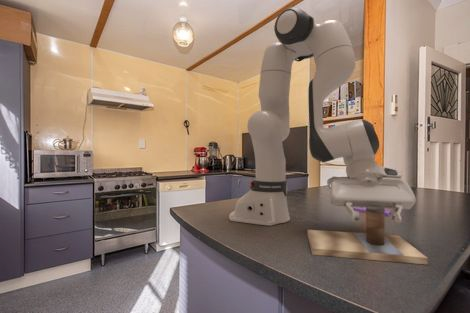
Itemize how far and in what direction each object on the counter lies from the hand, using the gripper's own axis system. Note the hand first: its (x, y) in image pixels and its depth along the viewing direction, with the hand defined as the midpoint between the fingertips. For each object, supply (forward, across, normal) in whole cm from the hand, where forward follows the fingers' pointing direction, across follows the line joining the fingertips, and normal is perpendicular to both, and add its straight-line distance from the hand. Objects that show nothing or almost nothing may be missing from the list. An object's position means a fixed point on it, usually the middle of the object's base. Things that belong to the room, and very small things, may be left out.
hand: (376, 220), depth 59 cm
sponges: (-23, +12, +34) cm, 43 cm away
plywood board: (+5, -4, +6) cm, 8 cm away
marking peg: (+4, 0, +4) cm, 6 cm away
